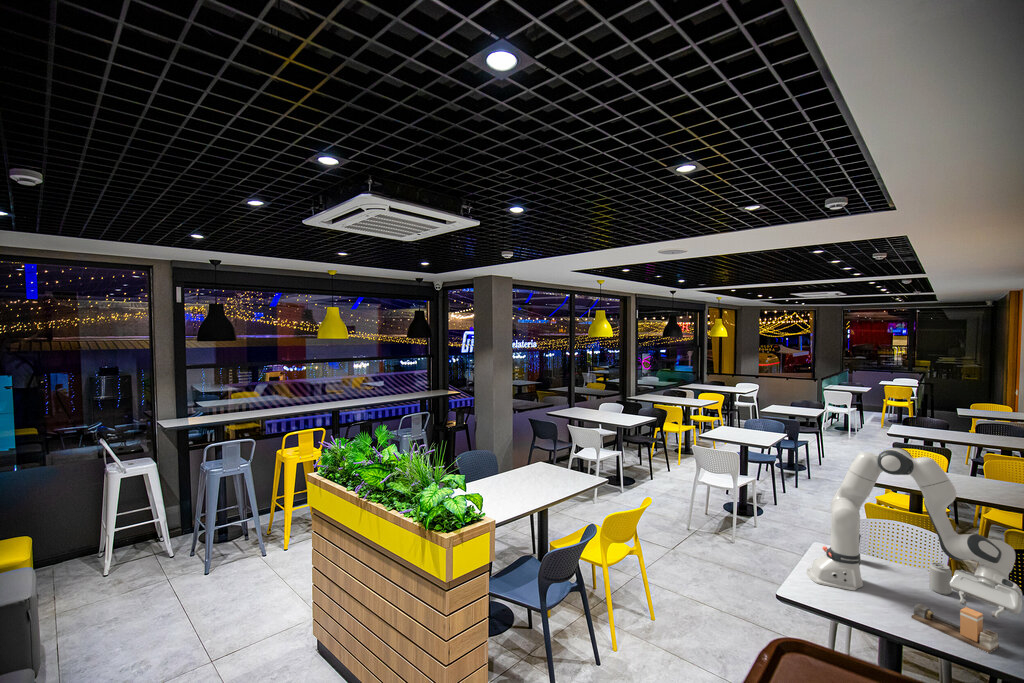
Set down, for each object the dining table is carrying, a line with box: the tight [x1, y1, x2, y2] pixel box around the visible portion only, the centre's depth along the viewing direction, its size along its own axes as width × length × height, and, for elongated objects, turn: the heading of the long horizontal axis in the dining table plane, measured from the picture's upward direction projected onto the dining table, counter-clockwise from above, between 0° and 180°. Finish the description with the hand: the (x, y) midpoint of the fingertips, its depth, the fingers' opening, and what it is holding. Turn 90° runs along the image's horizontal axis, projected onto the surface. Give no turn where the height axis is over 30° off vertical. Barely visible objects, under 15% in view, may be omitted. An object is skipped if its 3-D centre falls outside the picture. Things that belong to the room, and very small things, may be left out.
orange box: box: [959, 606, 984, 642], centre depth 181 cm, size 5×4×10 cm
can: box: [928, 562, 953, 596], centre depth 214 cm, size 8×8×12 cm
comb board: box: [910, 603, 1000, 654], centre depth 186 cm, size 24×8×6 cm, turn 25°
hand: (977, 610), depth 182 cm, fingers open, 8 cm apart
